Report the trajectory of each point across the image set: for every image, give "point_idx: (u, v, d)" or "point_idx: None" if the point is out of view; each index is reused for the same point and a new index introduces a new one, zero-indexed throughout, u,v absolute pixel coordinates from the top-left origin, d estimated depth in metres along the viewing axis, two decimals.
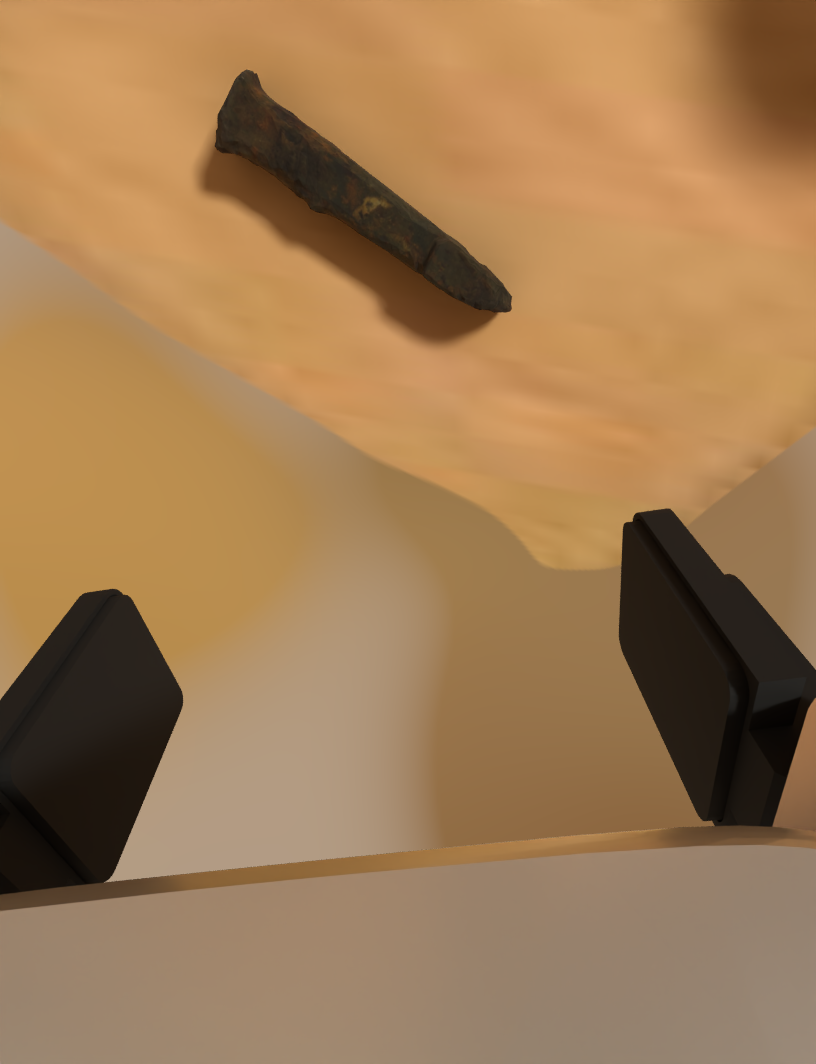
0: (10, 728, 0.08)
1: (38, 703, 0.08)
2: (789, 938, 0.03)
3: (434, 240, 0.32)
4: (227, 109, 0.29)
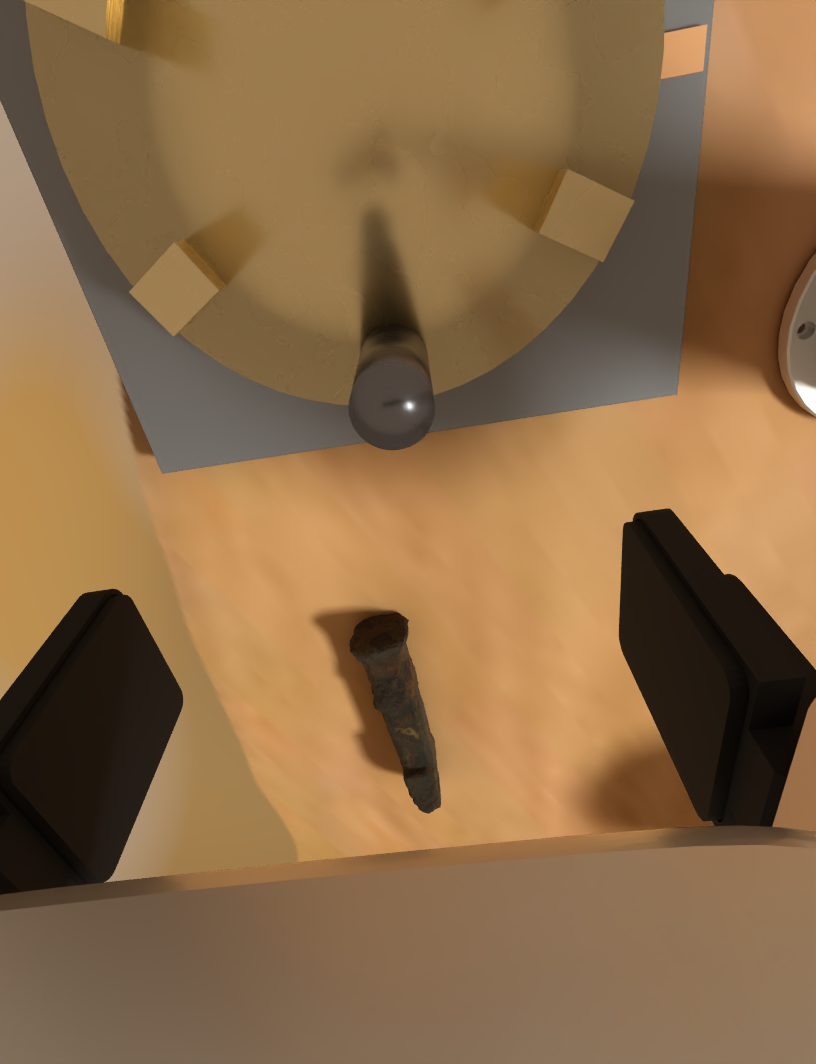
0: (10, 728, 0.08)
1: (38, 703, 0.08)
2: (789, 938, 0.03)
3: (425, 765, 0.43)
4: (377, 654, 0.37)
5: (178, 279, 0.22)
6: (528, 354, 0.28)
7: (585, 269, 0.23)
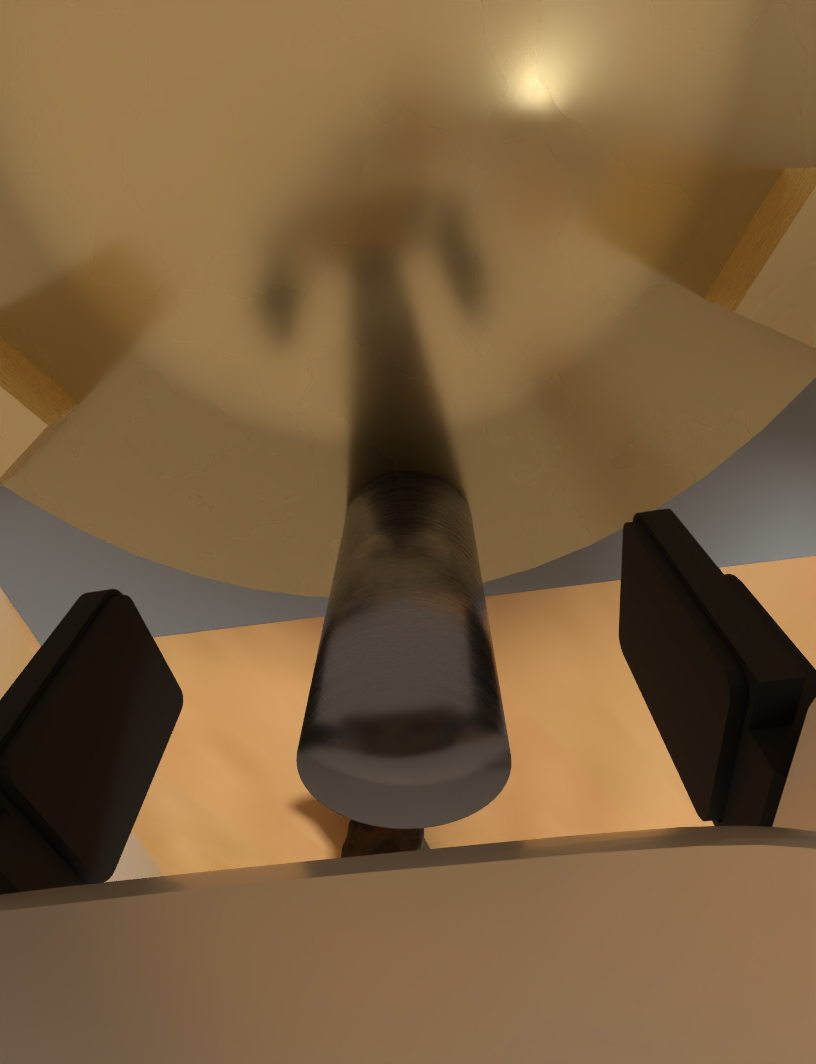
0: (10, 727, 0.08)
1: (38, 703, 0.08)
2: (790, 938, 0.03)
3: None
4: None
5: None
6: None
7: (802, 373, 0.11)
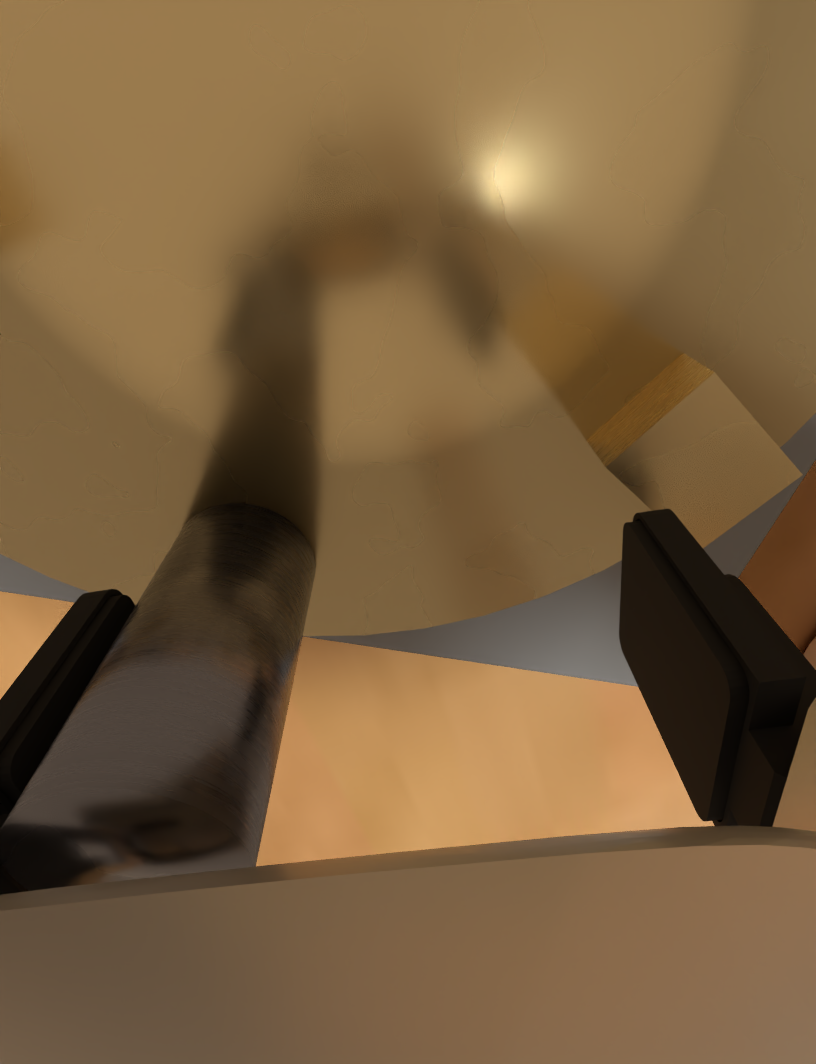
0: (10, 727, 0.08)
1: (38, 703, 0.08)
2: (789, 938, 0.03)
3: None
4: None
5: None
6: None
7: None
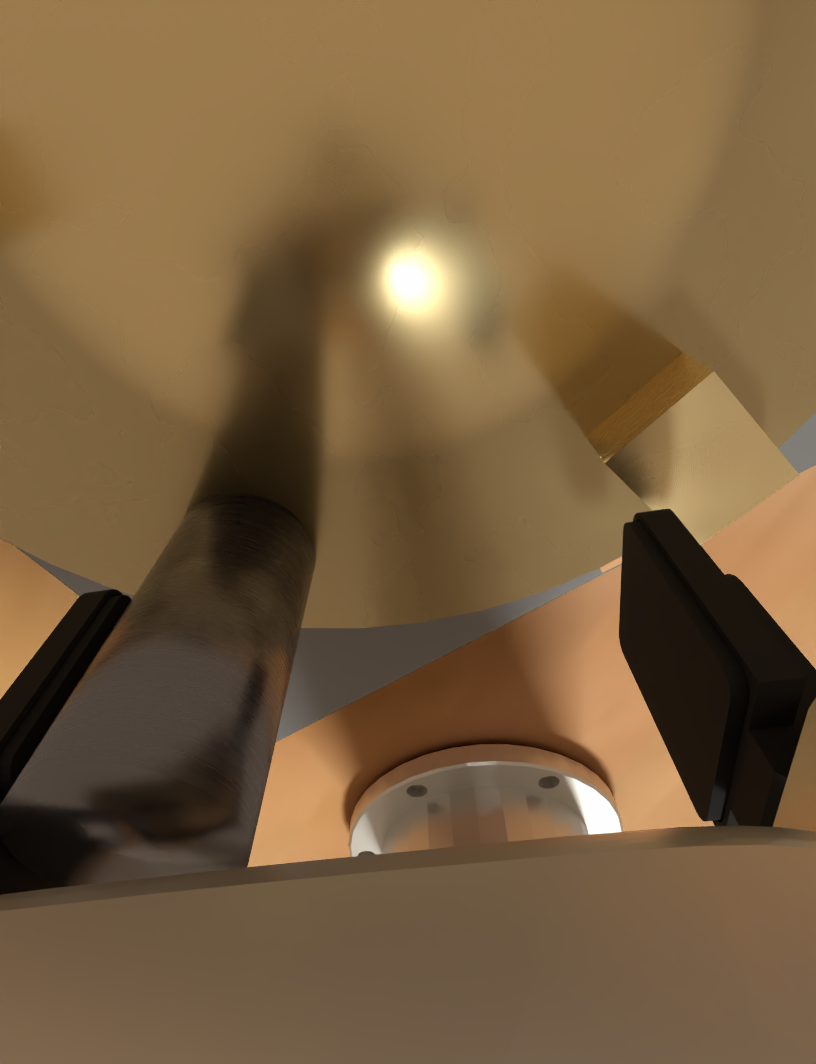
0: (10, 728, 0.08)
1: (38, 703, 0.08)
2: (789, 938, 0.03)
3: None
4: None
5: None
6: None
7: None
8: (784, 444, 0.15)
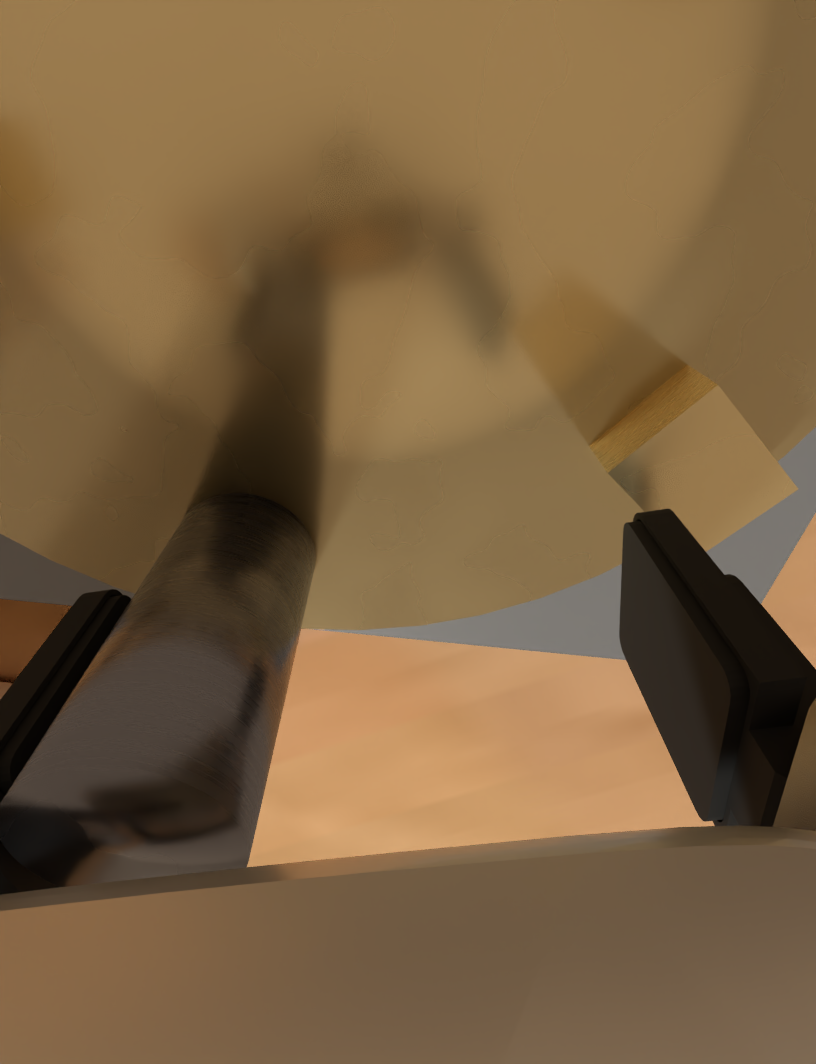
0: (10, 727, 0.08)
1: (38, 703, 0.08)
2: (789, 938, 0.03)
3: None
4: None
5: None
6: None
7: None
8: None
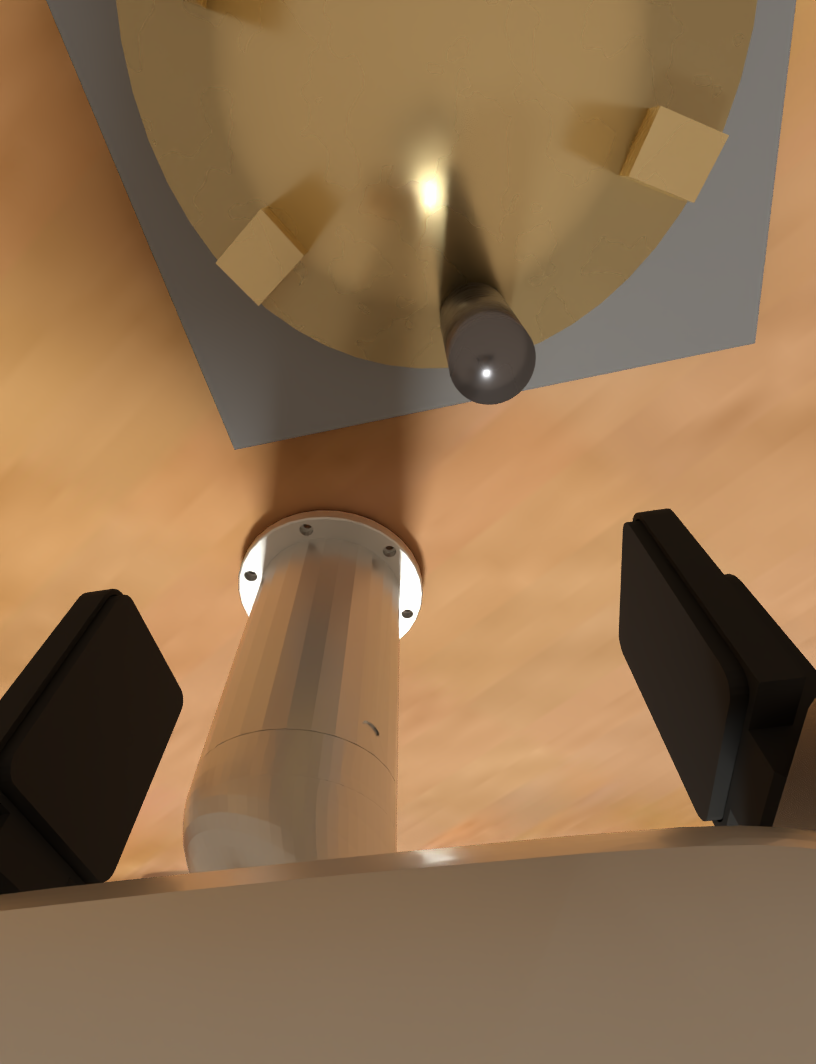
0: (10, 727, 0.08)
1: (38, 703, 0.08)
2: (789, 938, 0.03)
3: None
4: None
5: (263, 246, 0.22)
6: (240, 298, 0.28)
7: (671, 213, 0.23)
8: (572, 360, 0.29)
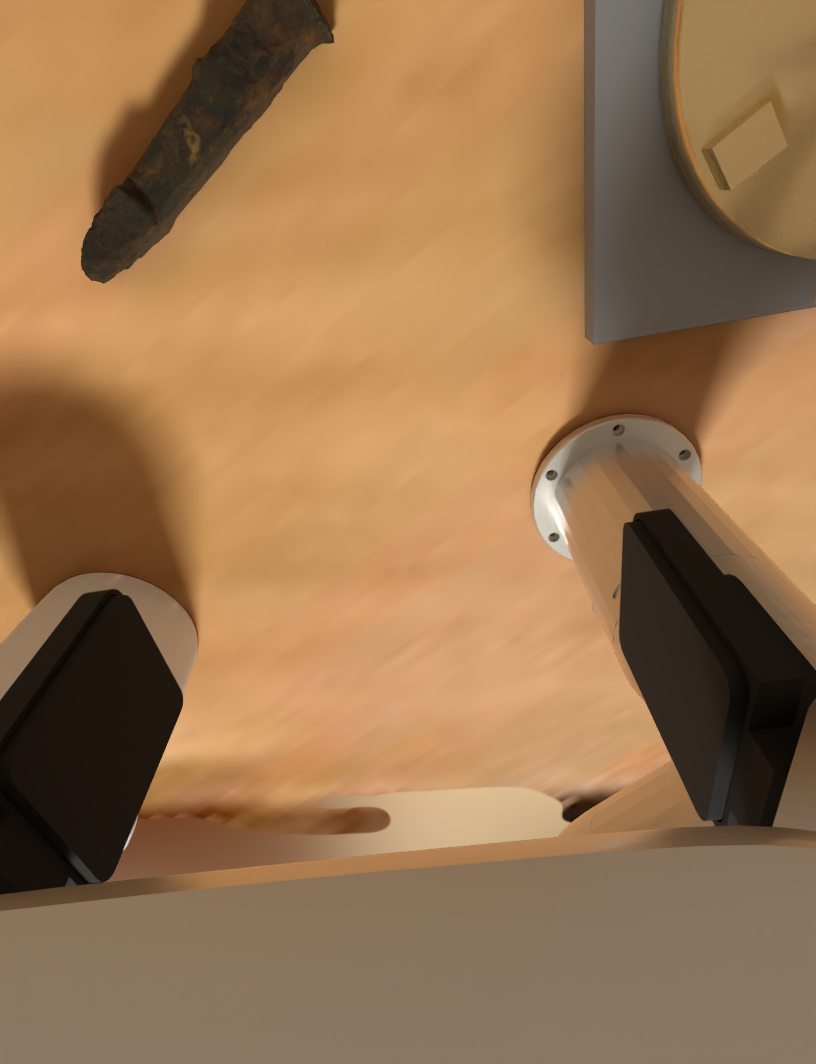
0: (11, 727, 0.08)
1: (38, 703, 0.08)
2: (789, 938, 0.03)
3: (154, 207, 0.31)
4: None
5: (758, 135, 0.27)
6: (653, 198, 0.32)
7: None
8: None
